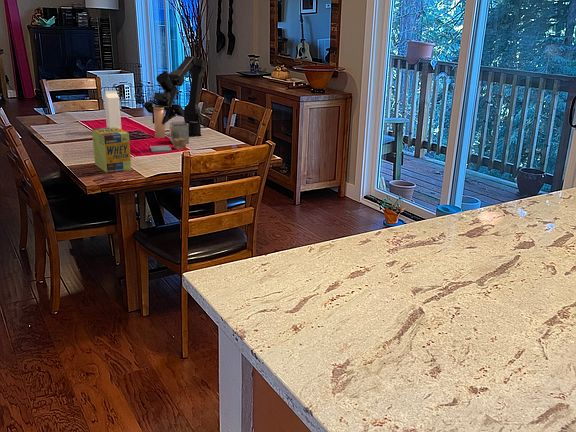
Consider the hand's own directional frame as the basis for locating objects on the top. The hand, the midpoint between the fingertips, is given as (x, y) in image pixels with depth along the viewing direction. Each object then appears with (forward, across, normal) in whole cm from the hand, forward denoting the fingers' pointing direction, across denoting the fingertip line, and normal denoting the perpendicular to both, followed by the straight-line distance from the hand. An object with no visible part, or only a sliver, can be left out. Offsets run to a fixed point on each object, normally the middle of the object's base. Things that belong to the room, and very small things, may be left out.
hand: (158, 123), depth 259 cm
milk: (-7, -40, +26) cm, 48 cm away
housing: (-4, 0, +22) cm, 23 cm away
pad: (+8, 0, +10) cm, 13 cm away
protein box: (+33, -3, -15) cm, 36 cm away
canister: (+4, 0, +6) cm, 7 cm away
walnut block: (+4, +7, +14) cm, 16 cm away
